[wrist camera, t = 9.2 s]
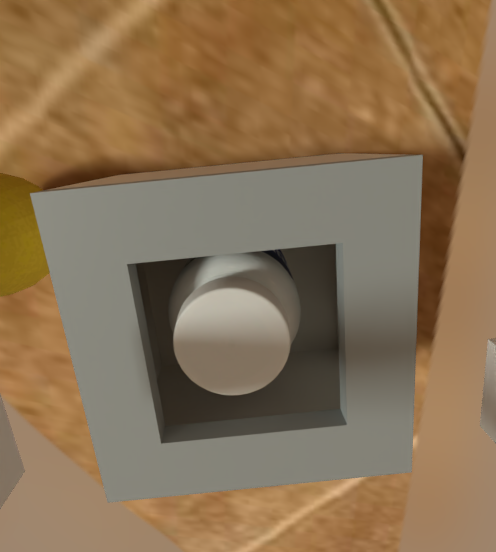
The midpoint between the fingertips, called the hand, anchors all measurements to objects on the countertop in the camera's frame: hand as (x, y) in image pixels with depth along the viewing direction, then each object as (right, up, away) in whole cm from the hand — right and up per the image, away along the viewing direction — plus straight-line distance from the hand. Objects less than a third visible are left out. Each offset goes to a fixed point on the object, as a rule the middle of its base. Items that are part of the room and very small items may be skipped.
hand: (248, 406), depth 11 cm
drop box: (0, +4, +13) cm, 13 cm away
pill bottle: (-1, +4, +12) cm, 13 cm away
